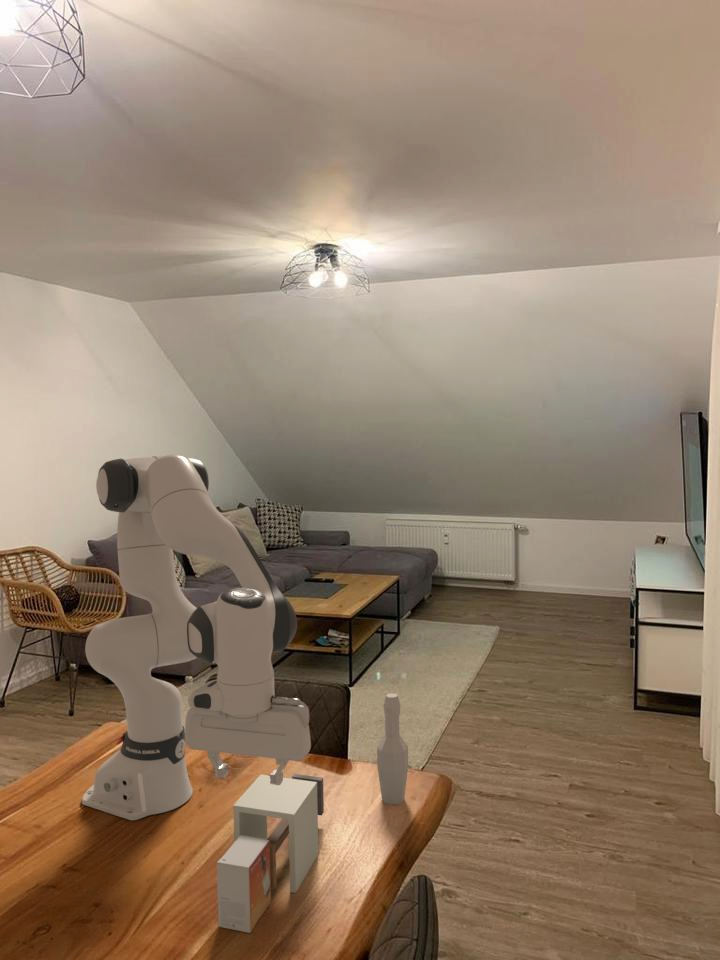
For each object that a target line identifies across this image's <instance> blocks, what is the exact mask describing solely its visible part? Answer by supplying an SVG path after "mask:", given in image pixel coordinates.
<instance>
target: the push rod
mask: <svg viewBox="0 0 720 960" xmlns="http://www.w3.org/2000/svg"><path fill="white" fill-rule="evenodd" d="M291 779H298V780H305V781H313V782H317V806H318V816H321V817H322V816H323V814H324V812H325V810H324V809H325V808H324V806H325V805H324V801H325V798H324V778H323V777H322V776H321V777H320V776H315V775H307V774H298V773H294V774H293V775H292V776H291ZM287 837H289V820H288V819H282V818H281V820H280V821H279V823H278V824H277V825H276V827H274V829H273V831H272V832H271V833H270V835H269V836H268V837H267V840H270V877H271V890H275V888H276V887H277V858H276V857H277V855H276V853H277V852H278V850H279V849H280V848H281V846H282V844H283V843H284V842H285V840H286V839H287Z"/></svg>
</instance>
